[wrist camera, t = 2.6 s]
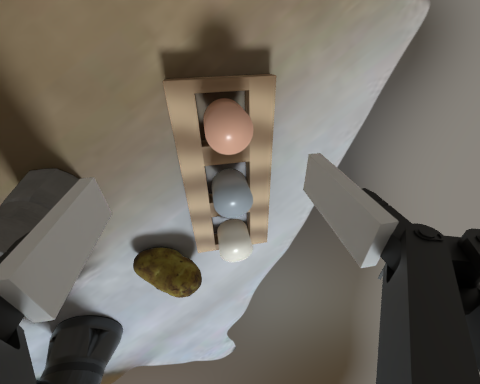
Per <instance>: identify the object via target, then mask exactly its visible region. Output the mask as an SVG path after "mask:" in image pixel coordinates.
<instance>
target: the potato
mask: <svg viewBox="0 0 480 384" xmlns="http://www.w3.org/2000/svg"><path fill="white" fill-rule="evenodd" d="M133 268H134V271H135V272H136V273H137V274H138V275H139V276H140V277H141V278H143V279H144V280H145V281H147V282H149V283H150V284H152V285H153V286H155V287H156V288H157V289H158V290H161V291H163V292H166V293H168V294H170V295H172V296H175V297H186V296H190V295H191V294H193V293H194V292H195V291H196V290H198V288H199V287H200V285H201V282H202V277H201V272H200V270H199V268H198V267H197V266H196V264H195V263H194V262H193V261H192V260H190V259H189V258H186V257H183V256H182V255H181V254H180V253H179V252H178V251H176V250H173V249H170V248H162V247H161V248H152V249H148V250H145V251H142V252H140V253H139V254H138V255H137V256H136V257H135V259H134V264H133Z"/></svg>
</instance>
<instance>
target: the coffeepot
mask: <svg viewBox="0 0 480 384" xmlns="http://www.w3.org/2000/svg"><path fill="white" fill-rule="evenodd" d="M78 180H79V179H78V178H76V177H75V176H73V175H71V174H69V173H67V172H64V171H61V170H59V169H40V170H33V171H29V172H28V173H27V174H26V175H25V177H24V178H23V179H22V180H21V181H20V182H19V184H18V185H17V186H16V187H15V188H14V189H13V191H12V192H11V193H10V194H9V195H8V196H7V198H6V199H5V200H4V201H3V203H2V204H1V206H0V257H1V256H2V255H3V254H4V253H5V252H7V250H8V249H9V247H10V246H11V245H12V244H13V243H14V242H15V241H16V240H18V239H19V238H21V237H22V236H24V235H25V234H26V233H28V232H31V231H32V229H33V228H34V227H35V226H36V225H37V224H38V223H39V222H40V221H41V220H42V219H43V218H44V217H45V216H46V215H47V214H48V212H49V211H50V210H51V209H52V208H53V207H54V206H55V205H56V204H57V203H58V202H59V201H60V200H61V199H62V198H63V196H64V195H65V194H66V193H67V192H68V191H69V190H70V189H71V188H72V187H73V186H74V185H75V184H76V183H77V182H78Z"/></svg>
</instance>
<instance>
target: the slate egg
mask: <svg viewBox="0 0 480 384" xmlns="http://www.w3.org/2000/svg"><path fill="white" fill-rule="evenodd" d="M212 194H213V203H214V208H215V210H216V212H217V213H218V214H220V215H221V216H223V217H226V218H237V217H240V216H242V215H244V214H246V213H247V212H248V211H249V210H250V208H251V207H252V204H253V196H252V193H251V191H250V188H249V186H248V184H247V181H246V179H245V176H244V175H243V174H242V173H241V172H240V171H238V170H235V169H225V170H222V171H220V172H219V173H217V174H216V175H215V176H214V178H213V180H212Z"/></svg>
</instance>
